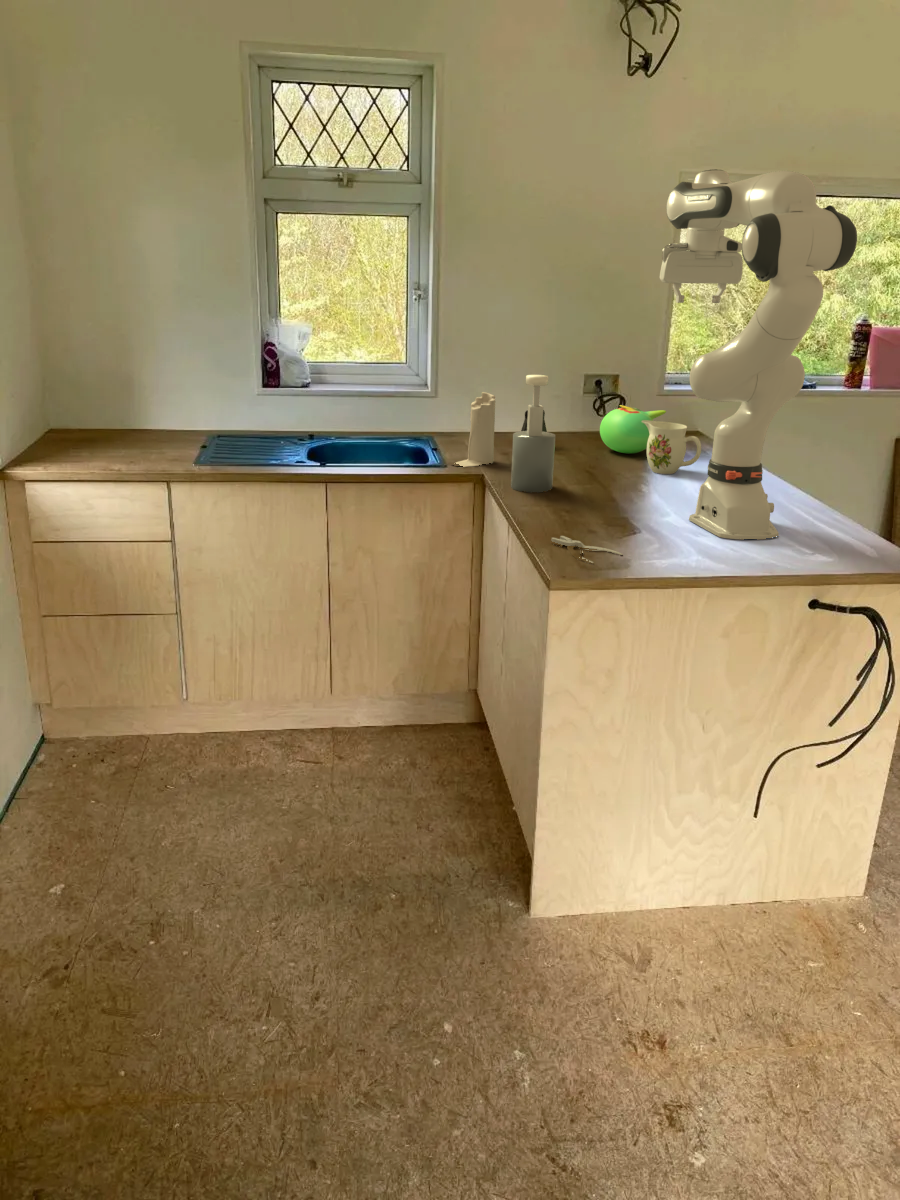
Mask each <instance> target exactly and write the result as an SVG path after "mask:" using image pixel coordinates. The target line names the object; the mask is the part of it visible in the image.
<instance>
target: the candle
mask: <svg viewBox="0 0 900 1200" xmlns="http://www.w3.org/2000/svg"><path fill="white" fill-rule="evenodd" d="M469 415H470V416H469V417H470V419H469V421H470V431H469V432H470V433H469V439H468V446H467V447H468V449H467V459H463V460H459V461H456V462H455V463H456V464H459V465H460V466H463V467H462V468H466V467H468V468H469V467H470V468H471V467H479V465H480V466H483V465H482V464H486V465H490V464H489V463H491V464H493V463H494V450H495V449H494V447H495V446H494V444H495V443H494V442H495V425H496V424H495V422H496V421H495V420H496V417H495V416H496V396H495V395H494V394H491V393H489V392H486V391H482V392H481V396H477V397H475V399H474V401H472V402H471V404H470V414H469Z"/></svg>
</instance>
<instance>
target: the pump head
mask: <svg viewBox="0 0 900 1200" xmlns="http://www.w3.org/2000/svg"><path fill="white" fill-rule="evenodd" d="M525 385H527V386H533V390H532V405H533V407H539V405H540V391H541V390H540V389H541V387H545V386H548V385H549V376H548V375H543V374H527V375H526V376H525Z"/></svg>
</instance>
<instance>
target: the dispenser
mask: <svg viewBox="0 0 900 1200" xmlns="http://www.w3.org/2000/svg"><path fill="white" fill-rule="evenodd" d="M527 410H528V419H527V431H521V430H520V431H516V432H513V433H512V453H511V472H510V473H511V476H510V479H511V480H510V488H511V489H512V490H515V491H518V492H522V491H524V492H523V493H532V492H537V493H544V492H543V491H546V492H549V491H548V490H550V489H552V490H553V482H554V466H555V465H554V463H555V449H556V448H555V447H556V434H555V433H553V432H548V431H547V432H543V431H542V423H543V410H544V406H543V405H542V404H539V407H533V404H528V405H527ZM525 491H526V492H525ZM550 491H551V490H550Z"/></svg>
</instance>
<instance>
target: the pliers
mask: <svg viewBox="0 0 900 1200" xmlns="http://www.w3.org/2000/svg"><path fill="white" fill-rule="evenodd" d="M551 541H552V542H555V543H558V544H561V545H565V546H576V547H577V546H578V547H582V548H589V549H597V550H592V551H607V552H606V553H608V552H612V553H616V554H619V555H623V553H621V552H619V551H616V550H613V549H610V548H605V547H601V546H595V545H594V546H593V545H591V546H590V545H585V544H584V543H583V542H582V541H580V540H576V539H574V540H573V539H572V538H569V537H567V536H565V535H560V536H559V538H558V537H551V540H550V542H551ZM578 547H577V548H578ZM589 549H584V551H585V550H589ZM584 551H583V550H582V553H583V554H584ZM612 553H611V554H612ZM616 554H615V555H616ZM619 555H618V556H619ZM623 556H624V555H623ZM579 558H580V557H579ZM582 559H586V561H588V560H589V559H587V558H585V557H583V556H582ZM589 562H591V563H595V562H594V561H592V560H589Z"/></svg>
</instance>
